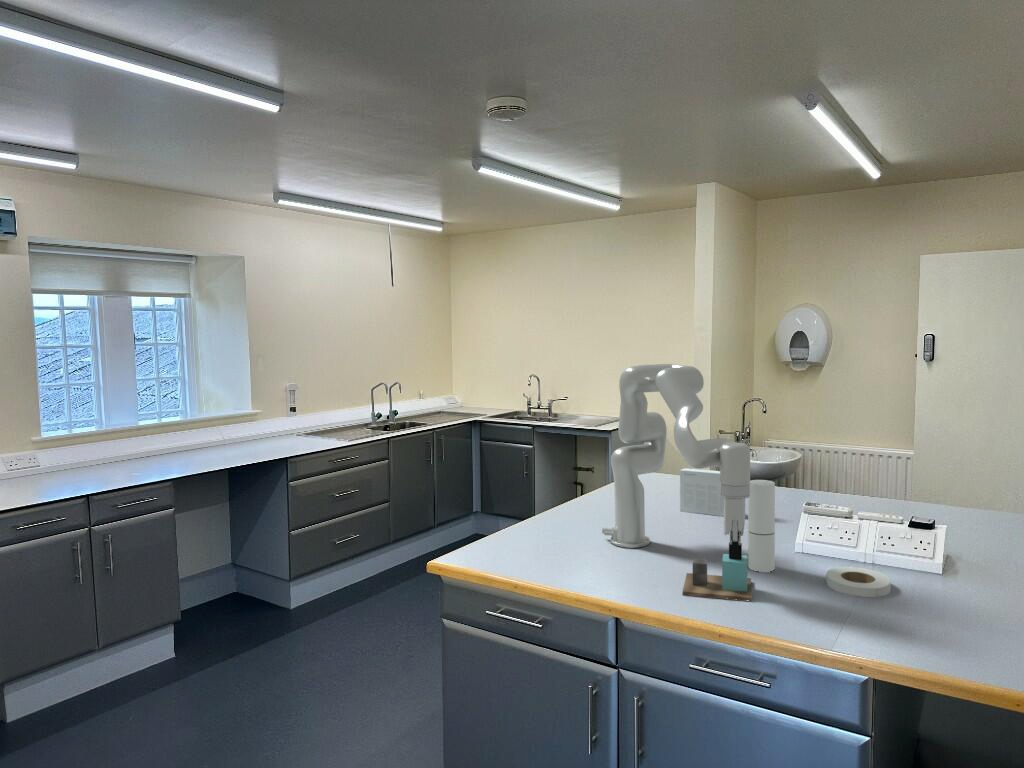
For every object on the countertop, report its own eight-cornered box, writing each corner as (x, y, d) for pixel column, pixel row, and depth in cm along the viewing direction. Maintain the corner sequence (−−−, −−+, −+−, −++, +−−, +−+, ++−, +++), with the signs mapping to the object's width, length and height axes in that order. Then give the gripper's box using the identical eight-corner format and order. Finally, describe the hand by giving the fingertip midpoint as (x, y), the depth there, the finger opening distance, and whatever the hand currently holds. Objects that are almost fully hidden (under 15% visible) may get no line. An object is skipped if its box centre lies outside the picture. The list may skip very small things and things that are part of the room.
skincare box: (739, 514, 256) (739, 472, 255) (735, 518, 252) (735, 475, 250) (684, 508, 267) (683, 467, 266) (679, 511, 263) (678, 470, 262)
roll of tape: (888, 602, 175) (888, 591, 174) (822, 591, 183) (822, 581, 182) (892, 582, 188) (892, 572, 187) (830, 573, 196) (830, 563, 195)
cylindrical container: (774, 565, 202) (774, 480, 200) (774, 573, 196) (775, 486, 194) (748, 562, 205) (748, 479, 203) (748, 571, 198) (748, 484, 196)
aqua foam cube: (722, 589, 182) (722, 561, 182) (723, 581, 188) (723, 553, 188) (747, 591, 180) (747, 563, 180) (747, 583, 186) (747, 555, 186)
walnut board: (682, 595, 182) (682, 569, 181) (686, 576, 195) (686, 552, 195) (751, 601, 177) (751, 574, 176) (750, 581, 190) (750, 556, 189)
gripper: (721, 483, 190) (721, 548, 192) (719, 496, 176) (719, 566, 178) (749, 484, 188) (750, 550, 190) (750, 497, 174) (750, 569, 175)
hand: (735, 558), depth 184 cm, fingers closed
